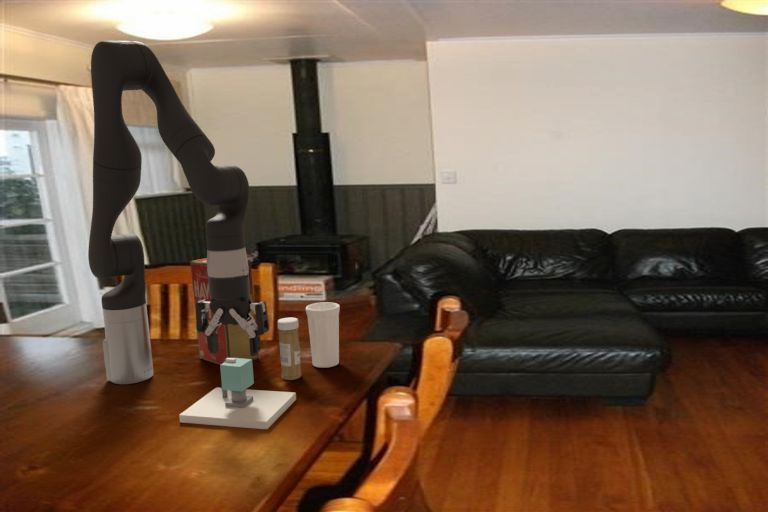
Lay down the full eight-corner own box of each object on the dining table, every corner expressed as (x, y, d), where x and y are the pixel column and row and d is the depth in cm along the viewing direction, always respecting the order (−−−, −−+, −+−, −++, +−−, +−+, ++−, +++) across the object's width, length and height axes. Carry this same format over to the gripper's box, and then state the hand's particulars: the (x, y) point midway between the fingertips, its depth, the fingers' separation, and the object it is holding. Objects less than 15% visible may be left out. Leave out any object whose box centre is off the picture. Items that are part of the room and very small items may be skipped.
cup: (330, 372, 142) (326, 312, 139) (301, 367, 146) (298, 308, 143) (349, 361, 149) (346, 303, 146) (321, 357, 153) (318, 300, 150)
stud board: (179, 422, 118) (177, 398, 117) (216, 394, 131) (215, 373, 131) (267, 429, 114) (265, 405, 113) (296, 399, 127) (294, 377, 126)
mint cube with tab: (253, 383, 123) (251, 356, 122) (241, 391, 119) (239, 363, 118) (234, 381, 124) (232, 354, 124) (222, 389, 120) (219, 361, 119)
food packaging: (197, 358, 155) (188, 260, 151) (228, 348, 162) (220, 254, 158) (228, 369, 147) (220, 265, 143) (260, 358, 154) (253, 258, 150)
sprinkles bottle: (305, 377, 139) (301, 319, 137) (286, 382, 137) (282, 323, 135) (296, 372, 143) (292, 315, 141) (278, 376, 141) (274, 319, 138)
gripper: (183, 275, 116) (191, 358, 119) (253, 276, 112) (259, 362, 115) (205, 267, 123) (211, 346, 126) (271, 268, 119) (276, 349, 122)
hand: (234, 353), depth 120 cm, fingers open, 8 cm apart
